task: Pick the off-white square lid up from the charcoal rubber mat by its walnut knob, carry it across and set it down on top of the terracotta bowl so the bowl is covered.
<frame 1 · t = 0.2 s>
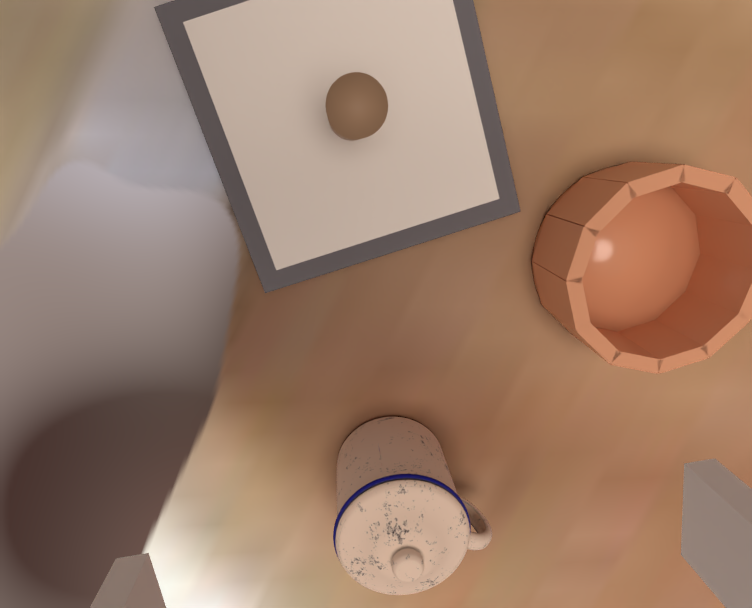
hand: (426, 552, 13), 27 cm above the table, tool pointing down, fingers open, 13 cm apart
mat: (350, 117, 36), on the table
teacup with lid: (405, 466, 44), on the table
lid: (353, 112, 30), on the mat
bowl: (617, 254, 40), on the table
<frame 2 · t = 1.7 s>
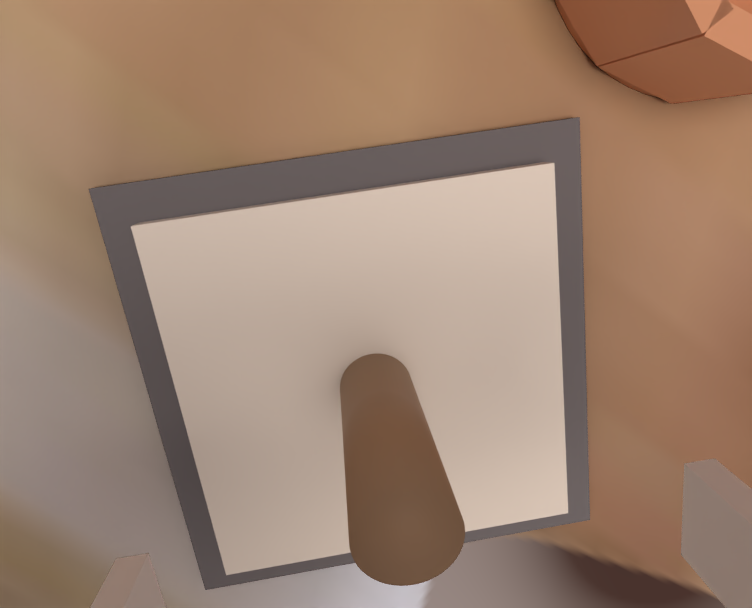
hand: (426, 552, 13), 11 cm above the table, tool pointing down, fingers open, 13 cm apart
mat: (372, 372, 24), on the table
lid: (386, 436, 18), on the mat
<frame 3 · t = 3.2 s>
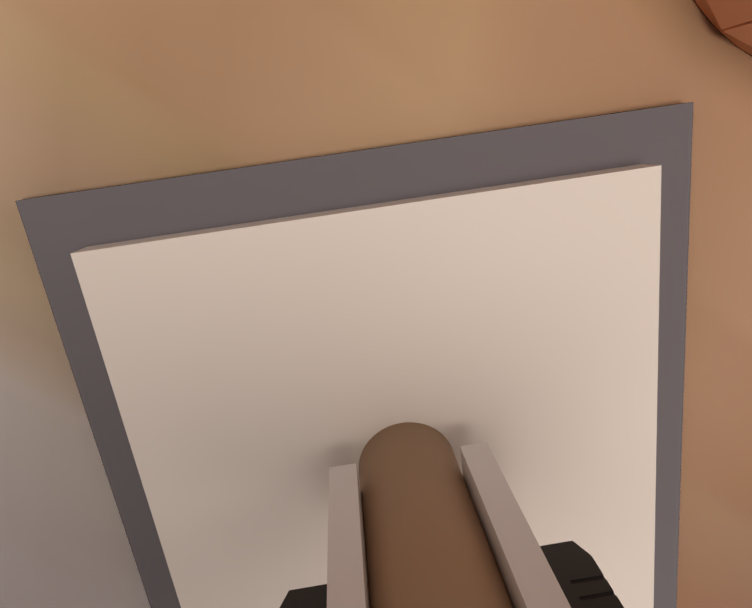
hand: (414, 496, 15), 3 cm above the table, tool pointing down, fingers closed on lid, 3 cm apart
mat: (401, 439, 18), on the table
lid: (428, 561, 13), on the mat, touching gripper
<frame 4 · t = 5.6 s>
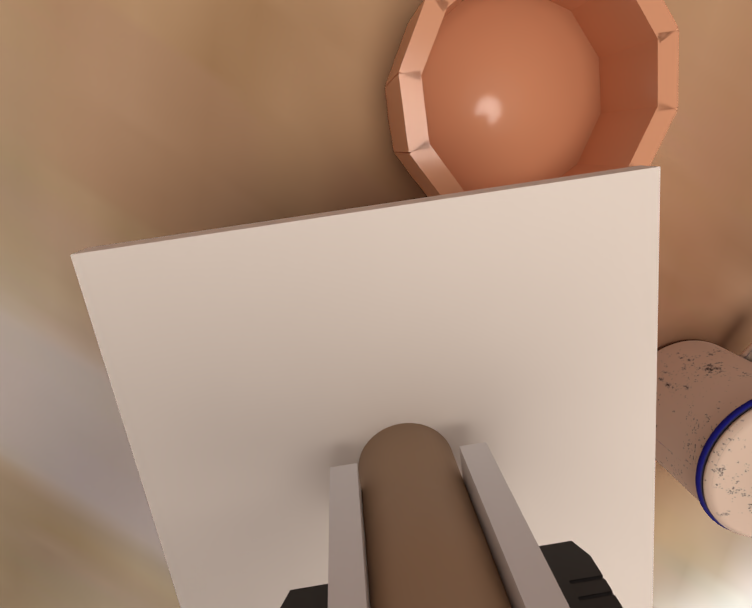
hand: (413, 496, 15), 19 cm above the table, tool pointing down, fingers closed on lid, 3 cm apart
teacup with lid: (690, 378, 37), on the table
lid: (427, 561, 13), point 22 cm above the table, touching gripper
bowl: (499, 103, 31), on the table
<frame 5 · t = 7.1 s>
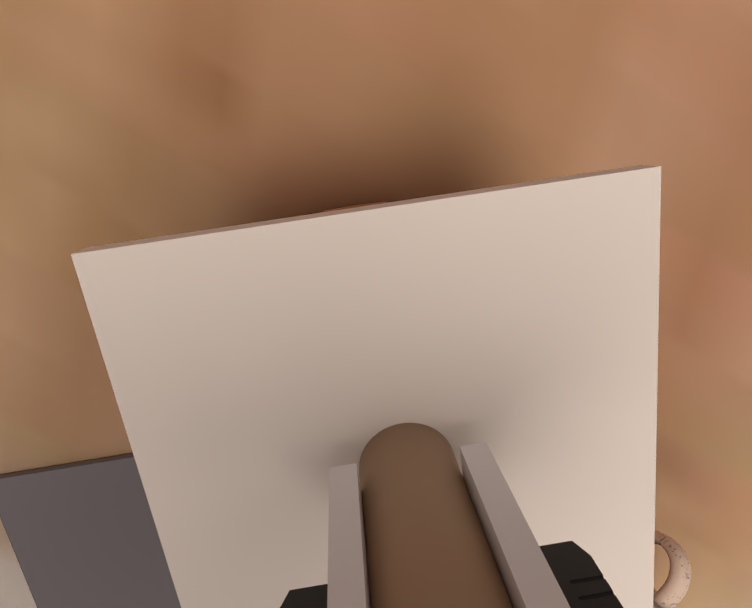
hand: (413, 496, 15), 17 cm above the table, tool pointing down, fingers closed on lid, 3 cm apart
mat: (183, 574, 36), on the table
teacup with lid: (576, 551, 38), on the table
lid: (428, 561, 13), point 20 cm above the table, touching gripper
when the fingers open (11 cm above the table, at t = 8.3 s): lid drops 1 cm, resting on bowl.
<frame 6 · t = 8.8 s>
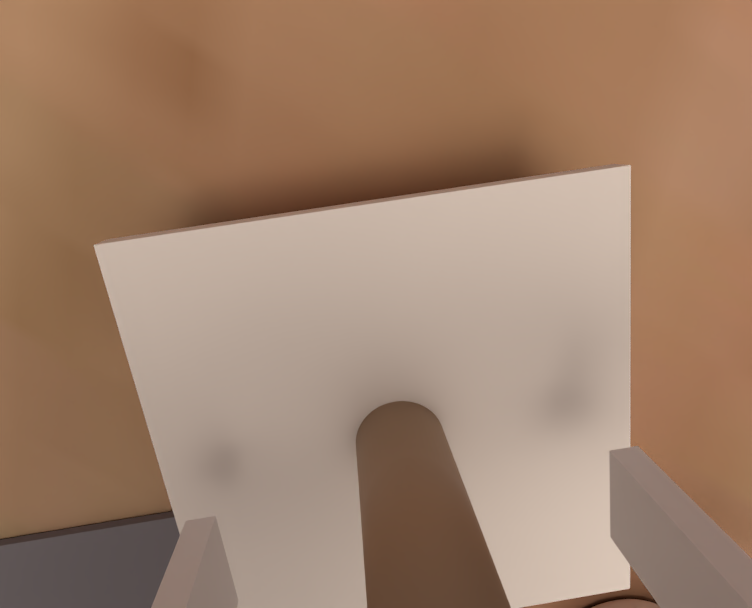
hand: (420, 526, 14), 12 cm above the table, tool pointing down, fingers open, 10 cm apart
lid: (417, 520, 14), on the bowl, point 12 cm above the table
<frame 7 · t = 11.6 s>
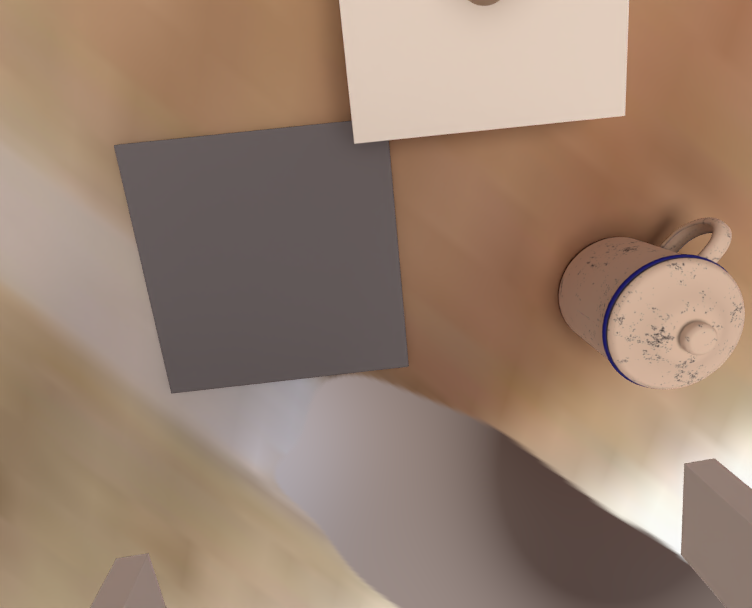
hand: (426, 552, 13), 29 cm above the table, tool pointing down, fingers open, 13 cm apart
mat: (273, 262, 40), on the table
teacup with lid: (620, 274, 42), on the table
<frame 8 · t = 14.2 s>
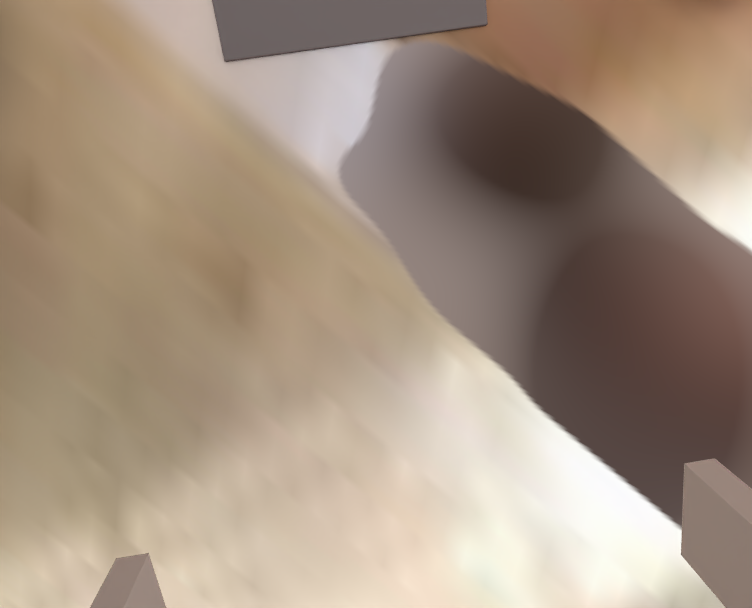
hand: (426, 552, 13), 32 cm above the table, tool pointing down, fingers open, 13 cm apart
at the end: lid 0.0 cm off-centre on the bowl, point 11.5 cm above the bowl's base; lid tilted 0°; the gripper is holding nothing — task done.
